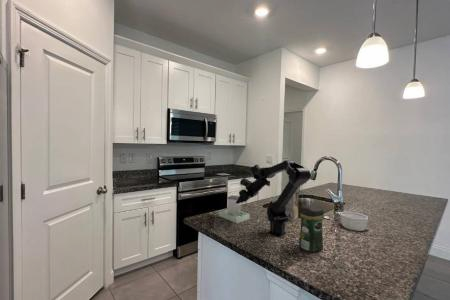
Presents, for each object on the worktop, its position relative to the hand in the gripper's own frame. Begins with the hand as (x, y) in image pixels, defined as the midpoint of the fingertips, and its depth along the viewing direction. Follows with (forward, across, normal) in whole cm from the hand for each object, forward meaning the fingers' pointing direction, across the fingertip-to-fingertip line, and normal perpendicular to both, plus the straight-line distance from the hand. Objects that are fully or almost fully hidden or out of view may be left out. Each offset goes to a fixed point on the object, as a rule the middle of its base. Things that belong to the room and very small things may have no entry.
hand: (239, 201), depth 126 cm
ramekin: (-35, -21, +50) cm, 65 cm away
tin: (+9, 0, +4) cm, 10 cm away
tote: (+10, 0, +5) cm, 11 cm away
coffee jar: (-21, +18, +37) cm, 46 cm away
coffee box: (-11, -18, +26) cm, 34 cm away
